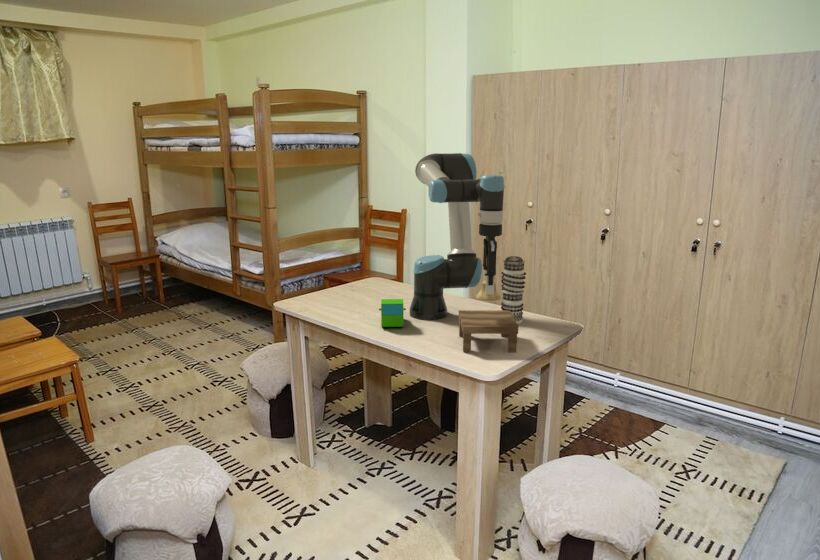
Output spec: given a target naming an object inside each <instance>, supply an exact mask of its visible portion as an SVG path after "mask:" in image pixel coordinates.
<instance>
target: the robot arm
mask: <svg viewBox="0 0 820 560" xmlns="http://www.w3.org/2000/svg"><path fill="white" fill-rule="evenodd" d="M414 171H415V172H414V173H415V176H416V178H417V180H419V182H420V183H421V184H424V185H425V186H427V187H428V191H427V192H428V199H429V201H430V202H431V203H439V204H444V203H445V204H446V203H447V207H448V221H449V222H448V223H449V224H448V225H449V245H450V246H449V247H450V250H449V252H448V253H447V254H446V258H445V257H444V256H443V255H439V254H432V255H431V254H430V255H425V256H421V257H419V258H417V259H416V260H415V262H414V263H413V266H414V267H413V297H412V301H411V303H410V306H409V315H410V317H412V318H415V319H418V320H430V321H431V320H439V319H443V318H446V317H447V316H448V307H447V304H446V301H445V298H444V289H445V290H446V289H468V288H475V287H477V286H478V285H479V283H480V281H481V279H482V278H483V279H482V282H483V281H485V280H486V293H485V294H489V295H494V282H495V280H496V279H495V277H496V274H497V250H498V249H497V248H498V242H497V241H496V237H501V236H502V234H503V224H502V223H503V220H504V194H505V193H504V192H505V178H504V176H503V175H497V174H484V175H482V176H481V177H480V178H477V174H478V173H477V166H476V161H475V159H474V157H473V156H472V155H471V154H469V153H461V152H459V153H456V152H454V153H439V152H438V153H437V152H436V153H430V154H427V155H425V156H423V157H422V158H420V159H419V161H418V162H417V163H416V166H415V170H414ZM470 203H479V212H477V216H478V217H479V220H478V221H479V222H480V223H479V225H478V234H479V235H480V236H481V237H485V238H483V255H482V256H483V257H482V259H483V260H481V258H480V257H477V252H476V251H475V250H473V241H472V238H473V237H472V226H471V225H472V224H471V223H472V222H471V207H470V206H471V205H470ZM486 257H487V266H486ZM482 272H483V273H482ZM482 274H483V277H482Z"/></svg>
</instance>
